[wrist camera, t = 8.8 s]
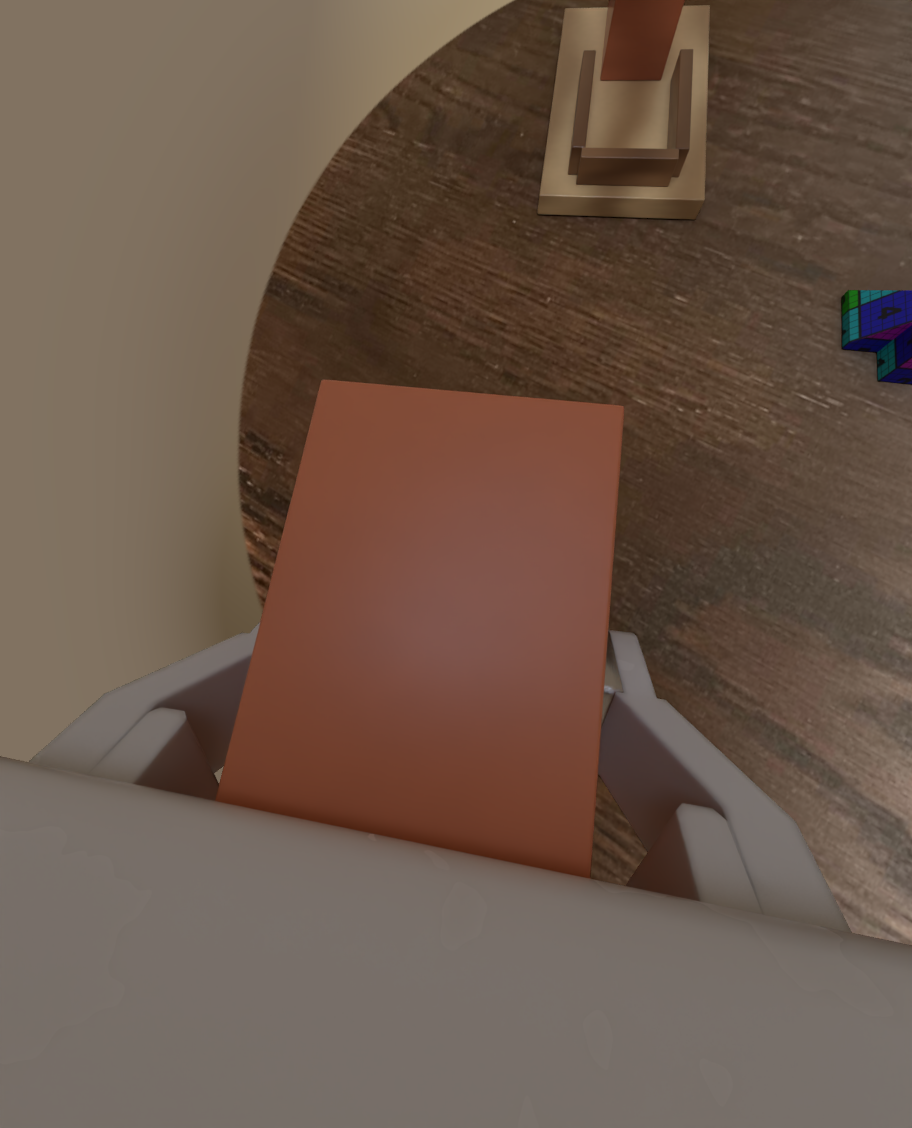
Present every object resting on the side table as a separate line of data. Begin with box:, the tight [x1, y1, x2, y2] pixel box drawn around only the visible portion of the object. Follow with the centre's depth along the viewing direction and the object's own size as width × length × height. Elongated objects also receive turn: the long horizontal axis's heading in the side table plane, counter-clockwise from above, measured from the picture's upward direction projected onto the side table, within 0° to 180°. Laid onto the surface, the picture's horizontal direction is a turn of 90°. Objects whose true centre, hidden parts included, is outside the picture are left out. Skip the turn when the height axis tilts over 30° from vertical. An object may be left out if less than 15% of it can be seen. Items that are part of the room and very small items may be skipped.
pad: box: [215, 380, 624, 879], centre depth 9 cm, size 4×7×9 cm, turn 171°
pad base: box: [538, 0, 710, 220], centre depth 24 cm, size 10×18×10 cm, turn 171°
